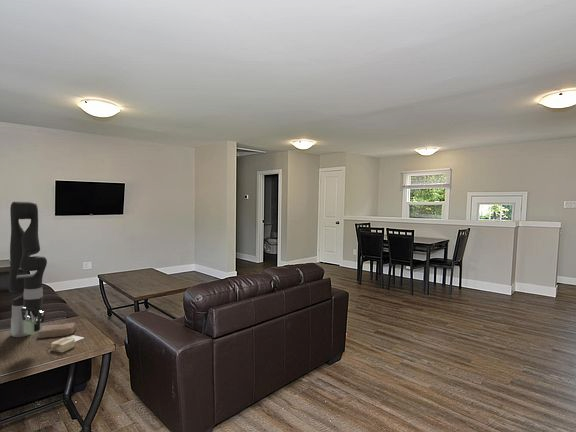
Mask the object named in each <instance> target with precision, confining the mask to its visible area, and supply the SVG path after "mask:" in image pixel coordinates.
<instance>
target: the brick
mask: <svg viewBox="0 0 576 432" xmlns="http://www.w3.org/2000/svg"><path fill="white" fill-rule="evenodd" d="M76 327H77V324H76V322H67V323H63V324H51V325H50V324H48V325H43V326H42V331H40V332H37V338H38V339H42V338H51V337H60V336H61V337H62V336H63V337H64V336H71V335H74V333H75V331H76V329H77V328H76Z"/></svg>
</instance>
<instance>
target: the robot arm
mask: <svg viewBox="0 0 576 432" xmlns="http://www.w3.org/2000/svg"><path fill="white" fill-rule="evenodd" d="M38 208H39V207H38V204H37V203H36V202H35V201H12V202H11V204H10V208H9V209H10V214H9V215H10V243H9V244H10V246H9V274H8V281H7V282H8V285H7V286H8V292H9V293H13V294H14V293H22V292H23V293H22V294H21V295H19V296H17V297H14V298H13V299H12V300H11V317H10V335H11V337H12V338H23V337H28V336H31V335H30V334H26V333H24V321H26V320H29V319H32V320H34V331H35V332H37V331H39V330H40V323H44V322H45V316H46V311H45V310H43V311H42V309H41V307H42V305H43V301H44V300H43V299H44V295H43V294H44V289H43V278H44V277H43V276H44V273H45V270H46V268H47V264H48V261H47V260H48V259H47V258H46V257H45V256H44V255H36V254H38V253H39V252H40V251H41V246H40V245H41V244H40V241H39V240H40V238H39V209H38ZM20 220H30V223H29V225H28V226H27V228H26V230H24V229H23V228H22V226H21V225H20ZM33 255H34V256H33ZM20 270H21V271H23V272H27V273H28V272H34V271H35V272H34V273H33V274H29V273H28V274H19V271H20ZM36 319H37V321H36ZM37 333H38V332H37Z"/></svg>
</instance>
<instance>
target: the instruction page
mask: <svg viewBox="0 0 576 432" xmlns="http://www.w3.org/2000/svg"><path fill="white" fill-rule="evenodd" d="M65 338H68V339H75V343H76V342H78V341H82V340H84V339H85V337H83V336H78V335H74V334H70V335H68V336H66V337H65Z"/></svg>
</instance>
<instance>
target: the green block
mask: <svg viewBox="0 0 576 432" xmlns="http://www.w3.org/2000/svg"><path fill="white" fill-rule="evenodd" d="M36 321H37V319H36ZM42 323H43V322H42ZM42 323H40V330H39V331H37V332H35V331H34V320H32V319H29V320H26V321H24V333H26V334H30V335H29V336H31V335H34V334H38V332H40V331H42V327H43V326H42Z"/></svg>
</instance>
